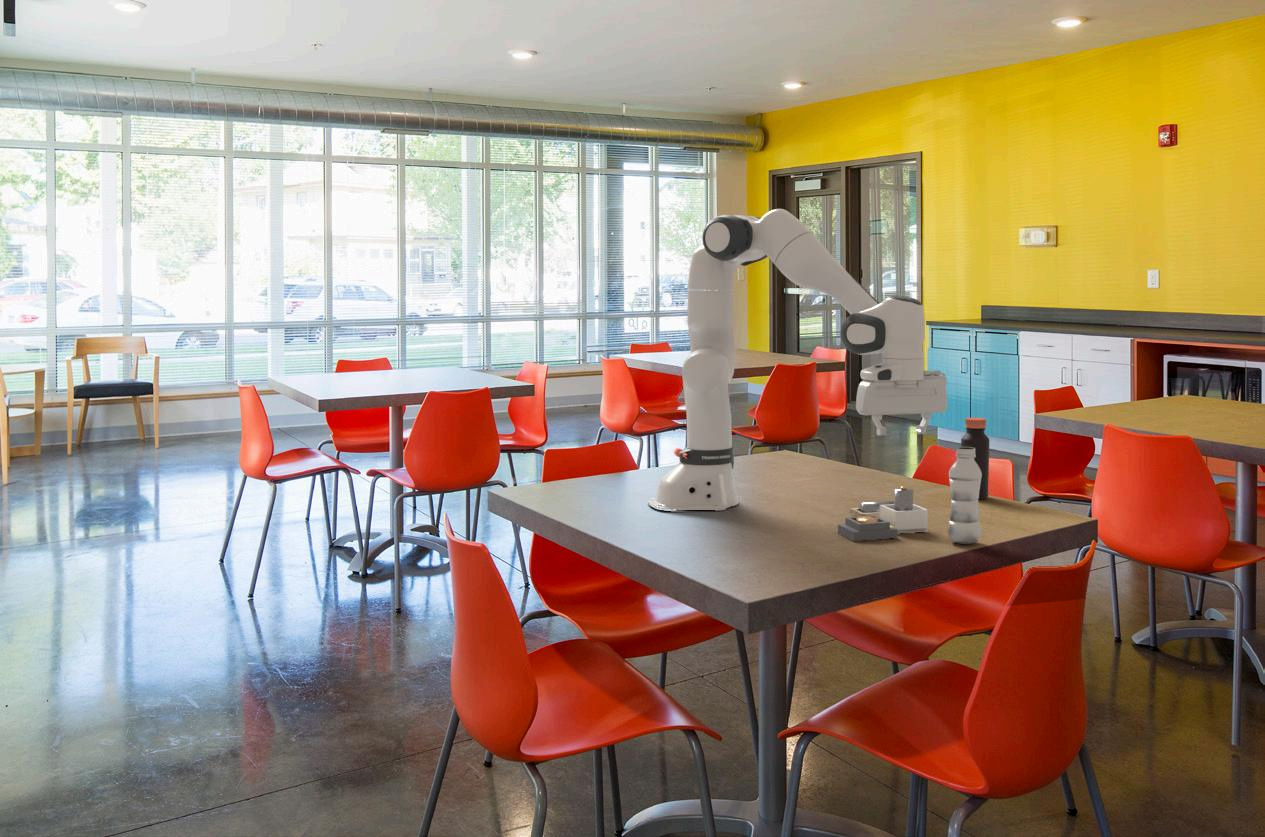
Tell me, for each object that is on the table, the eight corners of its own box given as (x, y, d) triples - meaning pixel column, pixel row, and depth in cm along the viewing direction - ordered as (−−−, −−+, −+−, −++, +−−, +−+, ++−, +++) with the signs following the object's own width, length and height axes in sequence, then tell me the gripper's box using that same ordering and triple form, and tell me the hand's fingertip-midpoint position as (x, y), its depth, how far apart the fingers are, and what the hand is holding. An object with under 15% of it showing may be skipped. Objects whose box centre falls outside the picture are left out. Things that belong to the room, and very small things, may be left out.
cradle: (853, 541, 223) (853, 525, 223) (837, 533, 231) (838, 517, 230) (897, 538, 225) (897, 522, 225) (880, 530, 233) (880, 514, 233)
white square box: (895, 534, 229) (895, 511, 228) (879, 527, 236) (879, 505, 235) (927, 532, 230) (927, 509, 230) (910, 524, 238) (911, 503, 237)
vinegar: (988, 495, 269) (990, 417, 266) (987, 500, 263) (989, 420, 260) (961, 494, 271) (962, 416, 269) (958, 499, 265) (960, 419, 263)
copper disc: (862, 525, 225) (862, 521, 225) (852, 521, 229) (852, 517, 229) (882, 524, 226) (882, 520, 226) (872, 519, 230) (872, 516, 230)
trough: (861, 527, 236) (862, 513, 236) (850, 521, 242) (850, 508, 242) (907, 523, 239) (907, 510, 238) (894, 518, 245) (894, 505, 244)
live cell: (865, 522, 237) (866, 504, 237) (858, 518, 241) (858, 501, 241) (901, 519, 239) (901, 502, 239) (892, 516, 243) (893, 499, 243)
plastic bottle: (987, 545, 218) (989, 449, 215) (958, 548, 216) (960, 451, 213) (969, 538, 224) (971, 445, 222) (940, 541, 222) (942, 446, 220)
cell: (899, 527, 231) (899, 489, 229) (890, 523, 234) (891, 485, 233) (915, 526, 231) (916, 487, 230) (907, 522, 235) (907, 484, 234)
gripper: (939, 369, 235) (937, 430, 237) (853, 371, 230) (852, 434, 232) (953, 371, 229) (951, 434, 230) (866, 373, 224) (864, 438, 226)
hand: (901, 434), depth 231 cm, fingers open, 8 cm apart
